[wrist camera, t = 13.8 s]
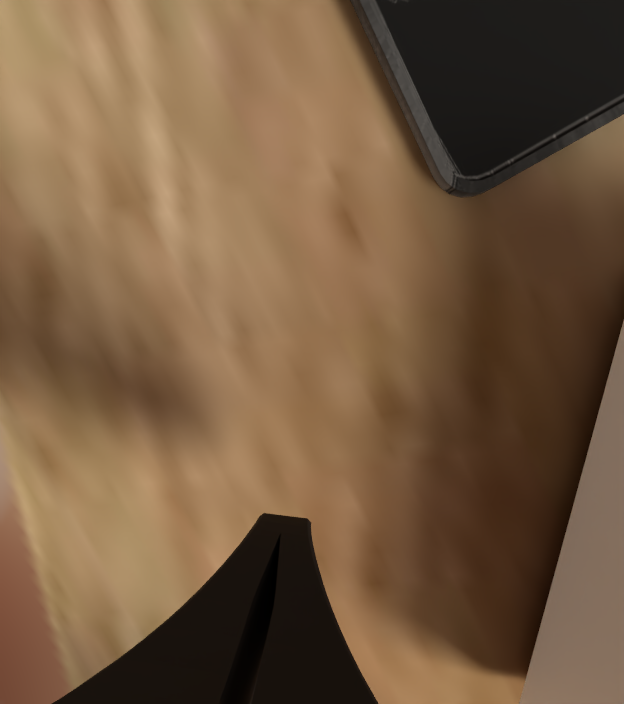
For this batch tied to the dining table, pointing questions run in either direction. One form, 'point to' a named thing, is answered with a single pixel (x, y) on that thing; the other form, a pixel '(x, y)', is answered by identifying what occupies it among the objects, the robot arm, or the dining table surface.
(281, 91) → the dining table surface
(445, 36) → the phone
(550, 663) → the tray
